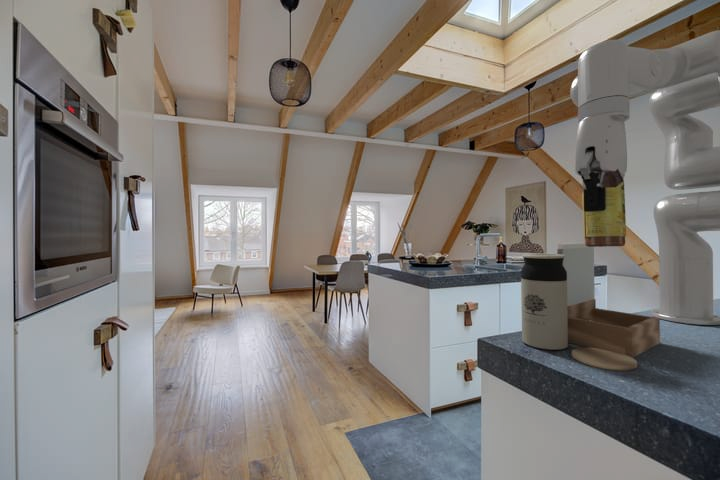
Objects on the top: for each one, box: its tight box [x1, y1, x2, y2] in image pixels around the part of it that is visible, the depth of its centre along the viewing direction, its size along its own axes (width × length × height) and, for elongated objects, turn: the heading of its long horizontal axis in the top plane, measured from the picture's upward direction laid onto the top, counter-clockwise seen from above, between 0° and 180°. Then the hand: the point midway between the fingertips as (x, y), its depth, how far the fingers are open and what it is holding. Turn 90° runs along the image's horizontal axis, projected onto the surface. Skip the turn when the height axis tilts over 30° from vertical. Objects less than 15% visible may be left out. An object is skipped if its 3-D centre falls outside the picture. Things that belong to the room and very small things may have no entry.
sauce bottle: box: [581, 158, 627, 248], centre depth 59 cm, size 7×6×20 cm
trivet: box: [571, 346, 638, 372], centre depth 55 cm, size 9×9×1 cm
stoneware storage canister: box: [520, 253, 569, 351], centre depth 64 cm, size 8×8×18 cm
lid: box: [556, 242, 596, 306], centre depth 69 cm, size 15×1×20 cm, turn 122°
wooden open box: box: [567, 298, 661, 359], centre depth 65 cm, size 14×12×7 cm
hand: (603, 211), depth 59 cm, fingers closed on sauce bottle, 6 cm apart
